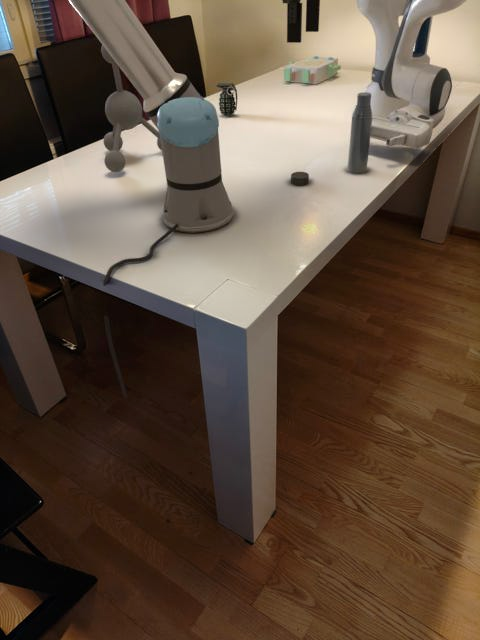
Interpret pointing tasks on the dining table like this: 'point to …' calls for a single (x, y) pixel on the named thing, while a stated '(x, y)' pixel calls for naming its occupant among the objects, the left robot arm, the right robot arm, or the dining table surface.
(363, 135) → the bottle
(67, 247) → the dining table surface
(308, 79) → the decorative block
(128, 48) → the left robot arm
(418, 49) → the electronic device
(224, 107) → the grenade
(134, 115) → the molecular model
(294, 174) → the cap
